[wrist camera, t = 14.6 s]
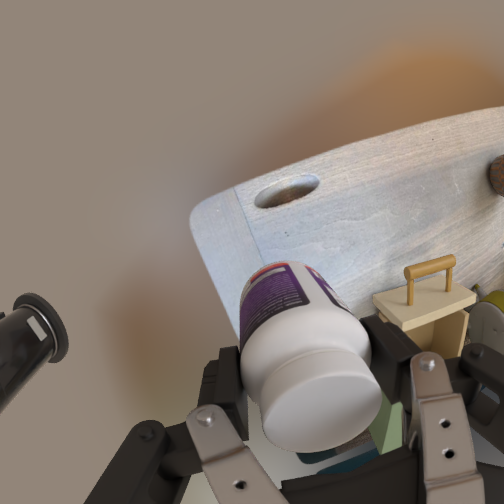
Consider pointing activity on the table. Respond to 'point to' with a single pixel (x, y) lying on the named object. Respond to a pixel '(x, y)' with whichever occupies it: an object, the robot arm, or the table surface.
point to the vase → (498, 175)
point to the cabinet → (387, 426)
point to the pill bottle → (305, 360)
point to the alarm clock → (488, 320)
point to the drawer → (429, 307)
